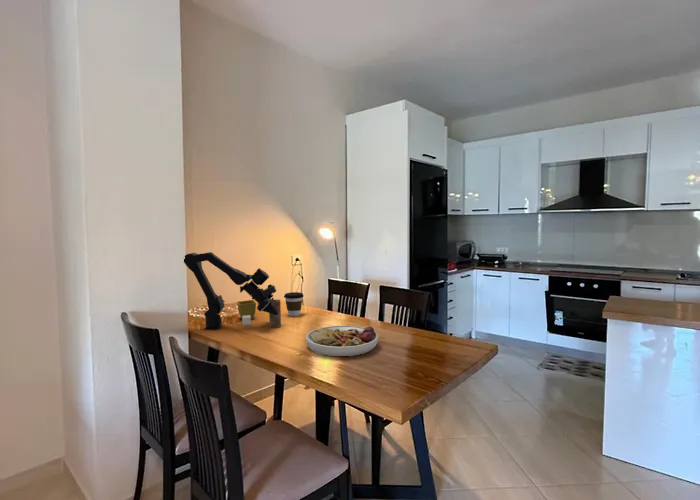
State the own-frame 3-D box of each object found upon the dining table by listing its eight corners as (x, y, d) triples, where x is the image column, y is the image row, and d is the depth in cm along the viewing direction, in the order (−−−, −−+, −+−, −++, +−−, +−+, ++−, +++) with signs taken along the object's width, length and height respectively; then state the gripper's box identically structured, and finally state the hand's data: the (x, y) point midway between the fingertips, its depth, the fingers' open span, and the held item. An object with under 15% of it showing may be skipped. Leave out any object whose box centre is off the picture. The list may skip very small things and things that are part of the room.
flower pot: (237, 317, 208) (236, 301, 207) (253, 315, 211) (253, 299, 211) (239, 321, 200) (239, 304, 199) (256, 319, 203) (256, 302, 203)
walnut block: (269, 327, 187) (269, 301, 186) (270, 324, 192) (270, 299, 191) (279, 327, 187) (279, 301, 186) (280, 324, 192) (280, 299, 191)
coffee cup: (283, 313, 216) (282, 292, 215) (302, 312, 219) (301, 291, 218) (285, 318, 205) (285, 296, 204) (305, 316, 209) (305, 295, 208)
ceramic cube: (242, 325, 192) (242, 317, 191) (242, 323, 196) (242, 315, 195) (250, 324, 193) (250, 317, 192) (250, 322, 197) (250, 315, 196)
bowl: (313, 363, 140) (312, 342, 139) (301, 339, 169) (301, 322, 168) (388, 355, 148) (388, 335, 147) (365, 333, 177) (365, 317, 176)
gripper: (263, 283, 178) (287, 305, 180) (268, 277, 197) (290, 297, 199) (247, 300, 178) (271, 322, 180) (253, 292, 197) (275, 313, 199)
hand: (277, 313), depth 189 cm, fingers open, 6 cm apart
